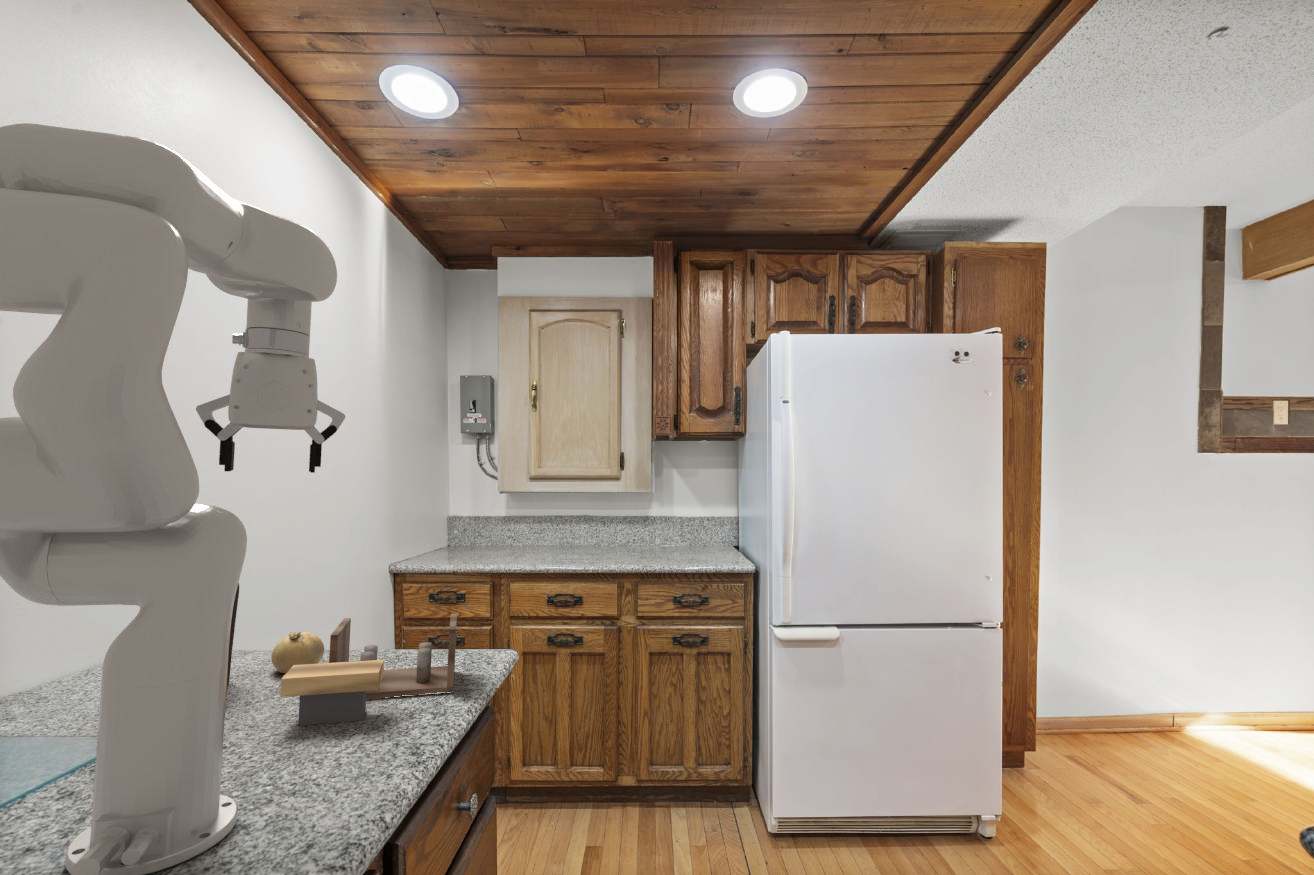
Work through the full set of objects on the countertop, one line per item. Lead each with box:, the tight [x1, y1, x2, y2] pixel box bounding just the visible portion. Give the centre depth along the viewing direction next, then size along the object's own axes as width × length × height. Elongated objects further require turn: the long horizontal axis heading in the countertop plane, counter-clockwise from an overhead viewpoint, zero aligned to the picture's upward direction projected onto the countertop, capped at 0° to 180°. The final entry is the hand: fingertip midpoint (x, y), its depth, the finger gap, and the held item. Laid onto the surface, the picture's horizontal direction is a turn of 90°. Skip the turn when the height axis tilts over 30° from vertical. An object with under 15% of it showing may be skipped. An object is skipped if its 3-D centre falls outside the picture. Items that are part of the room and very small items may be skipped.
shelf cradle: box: [328, 613, 458, 701], centre depth 101 cm, size 11×18×10 cm, turn 107°
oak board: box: [279, 659, 385, 698], centre depth 88 cm, size 6×12×2 cm, turn 107°
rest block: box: [297, 691, 367, 727], centre depth 87 cm, size 3×8×4 cm, turn 107°
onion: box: [270, 631, 325, 674], centre depth 107 cm, size 8×8×7 cm
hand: (271, 471), depth 84 cm, fingers open, 9 cm apart
